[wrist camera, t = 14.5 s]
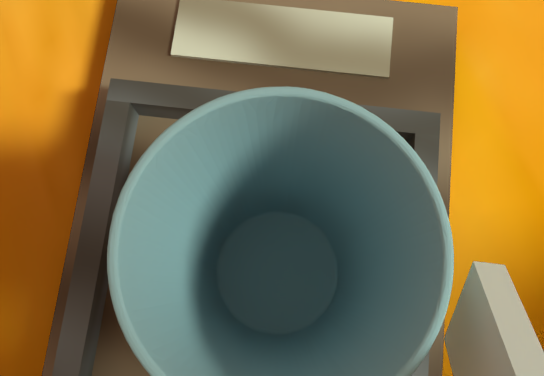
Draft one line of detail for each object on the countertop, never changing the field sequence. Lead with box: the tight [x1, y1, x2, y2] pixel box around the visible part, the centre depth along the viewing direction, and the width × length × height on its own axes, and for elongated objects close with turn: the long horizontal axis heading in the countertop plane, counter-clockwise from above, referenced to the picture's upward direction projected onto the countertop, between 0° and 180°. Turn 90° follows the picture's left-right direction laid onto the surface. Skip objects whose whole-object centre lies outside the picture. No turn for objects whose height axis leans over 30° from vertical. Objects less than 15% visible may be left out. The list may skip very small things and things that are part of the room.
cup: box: [107, 86, 454, 376], centre depth 16 cm, size 8×8×10 cm
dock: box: [42, 0, 458, 376], centre depth 22 cm, size 20×16×3 cm
